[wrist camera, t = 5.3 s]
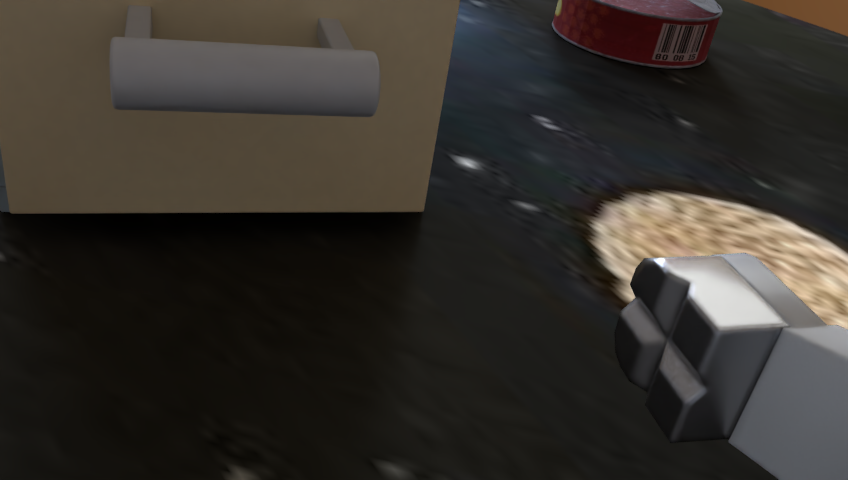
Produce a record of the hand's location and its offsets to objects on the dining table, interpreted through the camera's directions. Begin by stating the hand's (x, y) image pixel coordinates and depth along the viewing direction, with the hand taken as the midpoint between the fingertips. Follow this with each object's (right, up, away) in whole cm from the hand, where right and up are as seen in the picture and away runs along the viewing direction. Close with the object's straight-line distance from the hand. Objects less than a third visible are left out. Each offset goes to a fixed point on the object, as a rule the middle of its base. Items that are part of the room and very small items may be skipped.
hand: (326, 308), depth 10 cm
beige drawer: (-6, +4, +20) cm, 21 cm away
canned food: (+14, +13, +42) cm, 46 cm away
